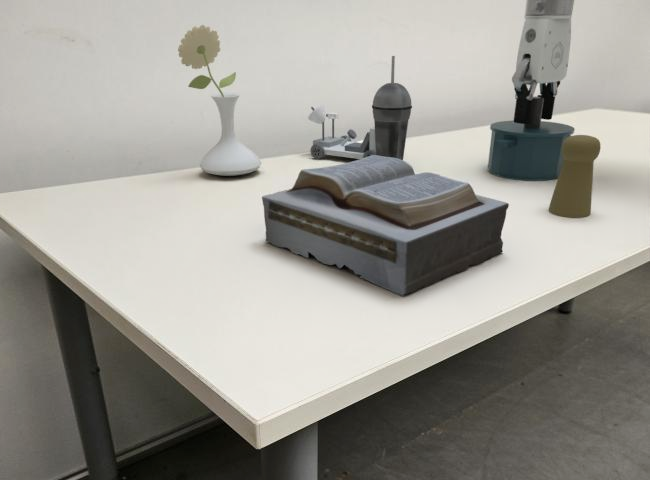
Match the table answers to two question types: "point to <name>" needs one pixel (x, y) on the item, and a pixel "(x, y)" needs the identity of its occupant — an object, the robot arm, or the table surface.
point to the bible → (386, 222)
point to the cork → (575, 177)
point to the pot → (525, 157)
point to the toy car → (340, 140)
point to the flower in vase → (229, 151)
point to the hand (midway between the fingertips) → (532, 120)
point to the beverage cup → (391, 118)
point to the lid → (533, 125)
